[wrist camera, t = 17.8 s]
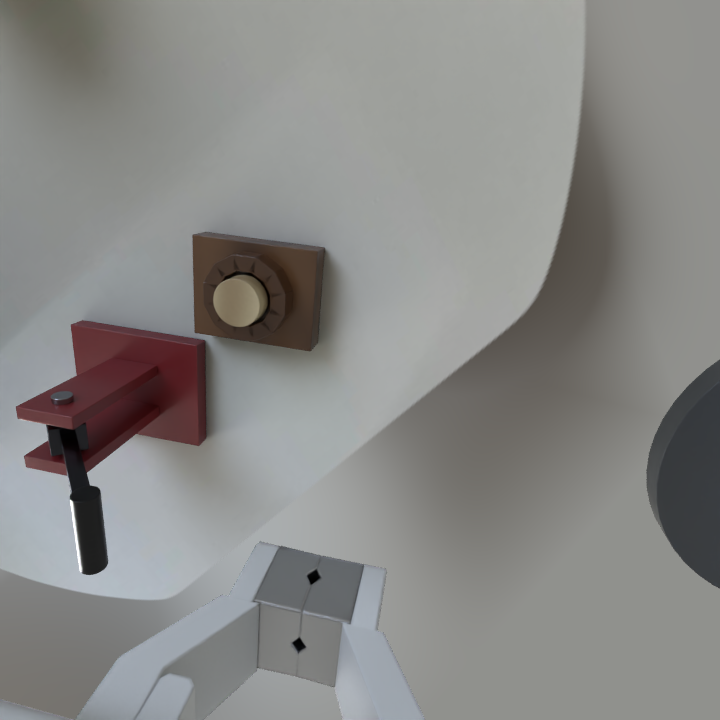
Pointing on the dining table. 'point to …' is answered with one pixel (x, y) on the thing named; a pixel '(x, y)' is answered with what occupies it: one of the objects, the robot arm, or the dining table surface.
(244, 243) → the control block
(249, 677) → the robot arm
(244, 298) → the button
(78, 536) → the lever
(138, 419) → the bracket
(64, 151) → the dining table surface
